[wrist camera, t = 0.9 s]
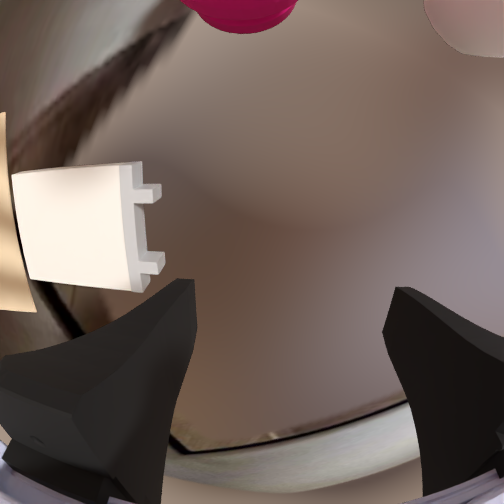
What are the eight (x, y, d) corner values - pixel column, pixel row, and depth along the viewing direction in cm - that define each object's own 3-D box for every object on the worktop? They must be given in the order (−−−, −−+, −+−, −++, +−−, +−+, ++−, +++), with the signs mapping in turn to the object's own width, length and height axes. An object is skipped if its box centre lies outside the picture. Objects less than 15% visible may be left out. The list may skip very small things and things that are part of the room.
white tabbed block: (170, 276, 21) (160, 294, 19) (44, 265, 21) (28, 279, 19) (164, 159, 18) (151, 164, 15) (29, 169, 18) (9, 175, 15)
